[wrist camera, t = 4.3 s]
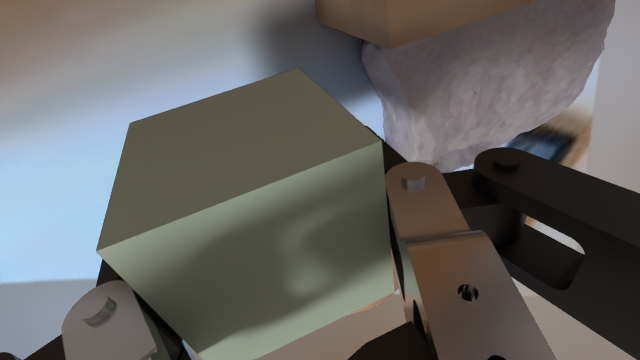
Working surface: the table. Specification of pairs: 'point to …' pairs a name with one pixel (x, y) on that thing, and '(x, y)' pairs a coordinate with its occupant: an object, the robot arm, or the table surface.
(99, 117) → the table surface
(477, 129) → the stone block
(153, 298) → the sage cube
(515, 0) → the walnut cube
